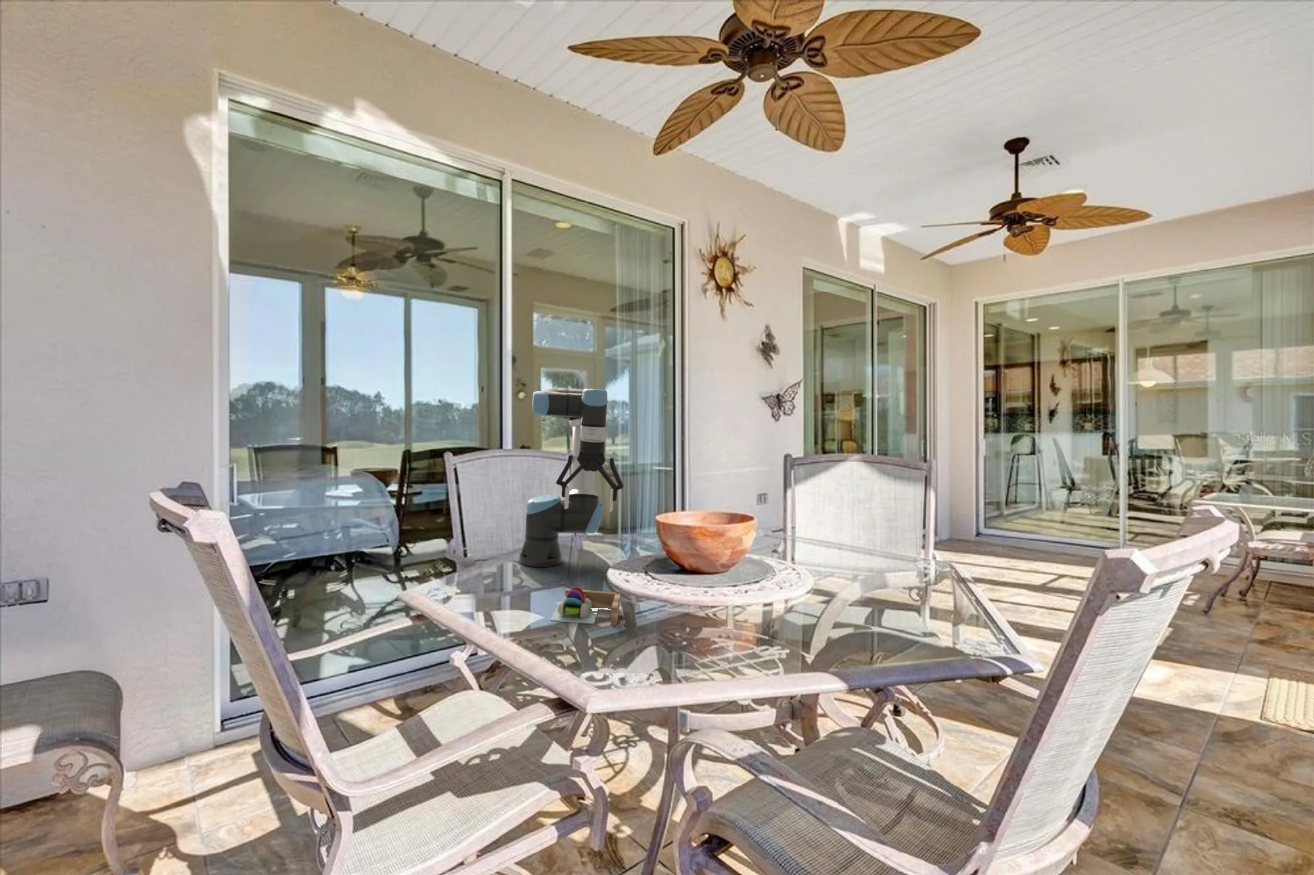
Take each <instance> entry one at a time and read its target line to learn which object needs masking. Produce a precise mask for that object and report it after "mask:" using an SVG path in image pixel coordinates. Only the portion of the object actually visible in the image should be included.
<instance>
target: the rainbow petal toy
mask: <svg viewBox="0 0 1314 875" xmlns="http://www.w3.org/2000/svg"><path fill="white" fill-rule="evenodd" d="M570 589H571V590H570V591H569V592H568V594H567V597H565V596H564V598H563V599H561V602H560V603H558V605H557V606H558V613H559V614H560V615H561V616H564V615H565V613H568V614H579V613H580V617H581V618H584V617H586V616H587V615H588V612H589V611H590V610H591V608H592V602H591V600H590V599H588V598H585V594H584V592H583V590H584V589H582V588H580V587H579V586H577V587H572V588H570Z"/></svg>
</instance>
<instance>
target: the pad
mask: <svg viewBox="0 0 1314 875" xmlns="http://www.w3.org/2000/svg"><path fill="white" fill-rule="evenodd" d="M597 612H599V610H598V611H592V609H591V610H590V611H589V612H588V615H587V616H586V617H584V618H581V617H580V613H579V614H568V613H565V615H564V616H561V615H560V614H559V613H558V605H557V606H556V609H555V610H554V612H553V613H552V616H551V618H550V621H551V622H564V623H577V624H589V625H590V624H591V625H594V624H595V622H596V619H597V616H598V613H597ZM594 613H597V614H594Z"/></svg>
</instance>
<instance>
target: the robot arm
mask: <svg viewBox="0 0 1314 875" xmlns="http://www.w3.org/2000/svg"><path fill="white" fill-rule="evenodd" d="M532 394H533V395H532V414H533V415H535V416H541V417H551V418H555V419H563V420H568V425H569V426H570V427H571V428H572V445H571V447H572V448H571V454H569V455H568V457H567V462H566V464H565V466H564V468H563V469H562V471H561V472H560V474H559V477H558V478H557V480H556V482H555V484H556V485H558V486H561V496H560V495H557V494H555V495H554V494H546V495H538V496H535V497H531V498H530V499H529V500H528V501H527V503H526V509H525V510H526V511H525V515H526V516H525V534H524V537H525V538H524V542H523V543H522V547H521V549H520V552H519V556H518V558H519V559H518V562H519V563H520V564H521V565H524V566H527V567H534V568H549V567H555V566H558V565H560V564H561V563H562V562H563V552H562V549H561V546H560V543H559V534H584V535H585V534H595V533H596V532H598V530H599V527H600V523H601V519H602V513H603V501H601V500H599V494H597V493H596V492H595V491H596V490H595V485H596V484H595V482H596V481H595V480H596V479H595V478H596V476H595V474H596V472H599V474H600V475H601V476H602V477H603V478H604V480H605V481H606V482H607V483H608V485H609V486H610V487H611V489H610V493H609V494H610V495H609V509H608V510H609V513H613V510H614V502H615V501H617V499H618V491H619V490H622V489H623V488H624V487H625V486H624V483H623V481H622V479H621V478H622V477H621V475H620V473H619V471H618V469H617V466H616V464H615V462H616V461H615V457H613V456H612V457H605V448H606V442H605V441H604V440H606V432H607V431H606V430H607V429H606V428H607V426H606V425H607V424H606V423H607V413H608V412H607V411H608V410H607V409H608V402H609V399H608V391H607V390H606V389H600V388H572V387H571V388H570V387H568V388H567V387H556V388H554V387H553V388H548V389H545V390H541V391H537V390H536V391H534V392H533V393H532ZM605 463H607V465H608V466H610V469H611V472H612V475H613V477H614V479H615V481H616V482H615V481H614V480H613V479H612V477H611V476H610V475H609V473H608V472H607V471H606V469H605V468H604V466H603V465H604V464H605ZM570 468H571V472H570V475H569V477H567V478H566V480H565V481H564V478H565V477H566V475H567V473H568V471H569V470H570ZM569 483H570V486H569ZM561 497H562V498H564V499H562V500H561Z"/></svg>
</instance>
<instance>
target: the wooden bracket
mask: <svg viewBox="0 0 1314 875" xmlns="http://www.w3.org/2000/svg"><path fill="white" fill-rule="evenodd" d="M571 589H572V588H565V590H564V598H565V597H567V594H568V592H569V591H570V590H571ZM582 590H583V592H584V594H585V598H588V599H590V600H591V602H592V608H608V609H611V611H610V626H617V623H618V618H619V615H618V613H619V614H620V611H619V607H620V608H621V596H622V595H621V592H616V591H615V592H614V591H601V590H590V589H589V590H588V589H582Z"/></svg>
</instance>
